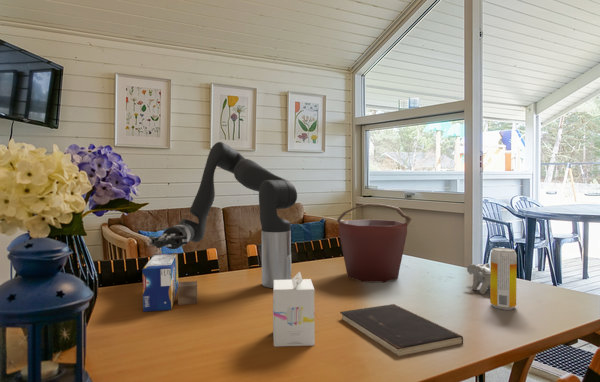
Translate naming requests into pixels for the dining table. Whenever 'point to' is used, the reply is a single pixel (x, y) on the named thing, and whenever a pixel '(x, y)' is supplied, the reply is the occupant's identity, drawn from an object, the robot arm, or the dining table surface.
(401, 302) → the dining table surface
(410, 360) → the dining table surface
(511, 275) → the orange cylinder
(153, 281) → the beverage box
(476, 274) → the gray elephant figurine
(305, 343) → the ink box
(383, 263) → the bucket
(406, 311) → the hardcover book
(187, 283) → the walnut block
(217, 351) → the dining table surface
